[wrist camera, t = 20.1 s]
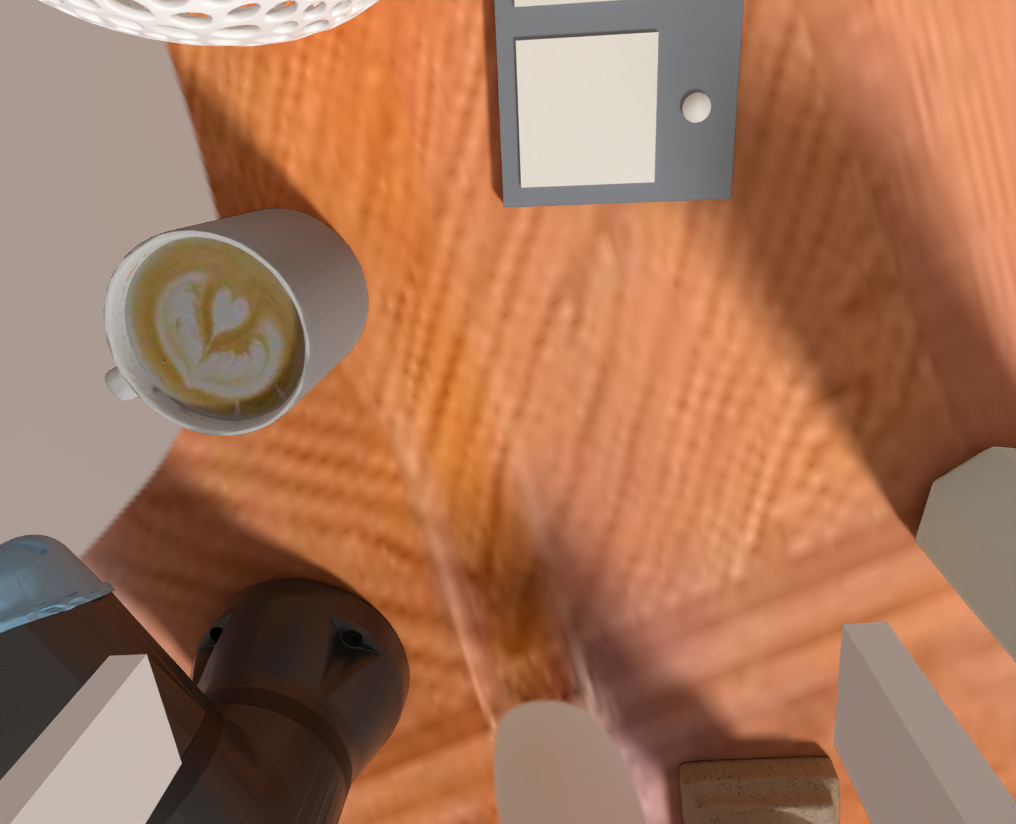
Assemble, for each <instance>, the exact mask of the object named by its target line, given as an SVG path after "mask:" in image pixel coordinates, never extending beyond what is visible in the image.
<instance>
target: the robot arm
mask: <svg viewBox="0 0 1016 824" xmlns="http://www.w3.org/2000/svg"><path fill="white" fill-rule="evenodd" d="M112 591H114V588H113V586H112V585H111V584H110V583H105V582H102V581H101V580H100V579H99V578H98V577H97V576H96V575H95V574H94V573H93V572H92V571H91V570H90V569H89V568H88V567H87V566H86V565H85V564H84V563H83V562H82V561H81V560H79V559H78V558H77V557H76V556H75V555H74V554H73V553H72V552H71V551H70V550H69V549H68V548H67V547H66V546H65V545H64V544H62V543H61V542H60V541H58V540H56V539H53V538H51V537H48V536H43V535H25V536H21V537H17V538H14V539H11V540H9V541H7V542H5V543H3V544H1V545H0V824H338V822H339V819H340V816H341V813H342V810H343V807H344V803H345V800H346V798H347V795H348V792H349V789H350V787H351V784H352V783H353V781H354V780H355V779H356V778H357V777H358V775H359V774H360V773H361V772H362V770H363V769H364V768H365V767H366V766H367V764H368V763H369V762H370V761H371V759H372V758H373V757H374V755H375V754H376V753H377V752H378V750H379V749H380V748H381V746H382V745H383V744H384V743H385V742H386V741H387V739H388V738H389V737H390V736H391V734H392V733H393V731H394V729H395V727H396V725H397V723H398V721H399V719H400V716H401V713H402V710H403V707H404V703H405V700H406V697H407V693H408V689H409V679H410V674H409V665H408V660H407V657H406V654H405V651H404V648H403V646H402V644H401V642H400V640H399V638H398V637H397V635H396V633H395V632H394V630H393V629H392V628H391V626H390V625H389V624H388V623H387V622H386V620H385V619H384V618H383V617H382V616H381V615H380V614H379V613H377V612H376V611H375V610H374V609H373V608H371V607H370V606H369V605H368V604H366V603H365V602H363V601H362V600H360V599H359V598H357V597H355V596H353V595H351V594H349V593H348V592H345V591H343V590H341V589H338V588H336V587H333V586H330V585H327V584H323V583H319V582H314V581H308V580H298V579H284V580H274V581H269V582H264V583H261V584H258V585H255V586H252V587H250V588H248V589H246V590H244V591H242V592H240V593H238V594H237V595H236V596H234V597H233V598H232V599H230V600H229V601H228V602H227V603H226V604H225V605H224V606H223V607H222V609H221V610H220V611H219V613H218V614H217V615H216V617H215V618H214V619H213V621H212V622H211V623H210V625H209V626H208V627H207V629H206V630H205V632H204V634H203V636H202V638H201V640H200V642H199V644H198V647H197V650H196V654H195V658H194V662H193V666H192V670H191V674H190V678H189V677H188V676H187V675H186V673H185V672H184V671H183V670H182V669H181V668H180V667H179V666H178V665H177V664H176V662H175V661H174V660H173V659H172V658H171V657H170V656H169V655H168V654H167V653H166V651H165V650H164V649H163V648H162V647H161V646H160V645H159V644H158V643H157V642H156V640H155V639H154V638H153V637H152V636H151V635H150V634H149V633H148V632H147V630H146V629H145V628H144V627H143V626H142V625H141V624H140V623H139V622H138V621H137V619H136V618H135V617H134V616H133V615H132V614H131V613H130V612H129V611H128V610H127V608H126V607H125V606H124V605H123V604H122V603H121V602H120V601H119V600H118V598H117V597H116V596H115V595H114V594H113V593H112ZM834 746H835V748H836V750H837V752H838V754H839V756H840V759H841V761H842V763H843V765H844V767H845V769H846V771H847V773H848V775H849V777H850V779H851V782H852V784H853V786H854V788H855V790H856V792H857V794H858V796H859V798H860V800H861V802H862V805H863V807H864V809H865V811H866V813H867V815H868V817H869V819H870V821H871V823H872V824H1016V802H1015V800H1014V799H1013V798H1012V796H1011V795H1010V793H1009V792H1008V791H1007V789H1006V788H1005V786H1004V785H1003V784H1002V782H1001V781H1000V779H999V778H998V777H997V775H996V774H995V772H994V771H993V770H992V768H991V767H990V765H989V764H988V763H987V761H986V760H985V758H984V757H983V756H982V754H981V753H980V751H979V750H978V749H977V747H976V746H975V744H974V743H973V742H972V740H971V739H970V737H969V736H968V735H967V733H966V732H965V730H964V729H963V728H962V726H961V725H960V723H959V722H958V721H957V719H956V718H955V716H954V715H953V714H952V712H951V711H950V710H949V708H948V707H947V705H946V704H945V703H944V701H943V700H942V698H941V697H940V696H939V694H938V693H937V691H936V690H935V689H934V687H933V686H932V684H931V683H930V682H929V680H928V679H927V677H926V676H925V675H924V673H923V672H922V670H921V669H920V668H919V666H918V665H917V663H916V662H915V661H914V659H913V658H912V656H911V655H910V654H909V652H908V651H907V649H906V648H905V647H904V645H903V644H902V642H901V641H900V640H899V638H898V637H897V635H896V634H895V633H894V631H893V630H892V628H891V627H890V626H889V624H888V623H887V622H880V623H857V624H843V626H842V639H841V653H840V666H839V679H838V692H837V706H836V719H835V732H834Z"/></svg>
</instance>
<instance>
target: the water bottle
mask: <svg viewBox="0 0 1016 824" xmlns="http://www.w3.org/2000/svg"><path fill="white" fill-rule="evenodd" d="M915 541H916V542H917V543H918V545H919V546H920V547H921V549H922V550H923V551H924V552H925V554H926V555H927V556H928V557H929V559H930V560H931V561H932V562H933V564H934V565H935V566H936V568H937V569H938V570H939V571H940V573H941V574H942V575H943V576H944V578H945V579H946V580H947V581H948V583H949V584H950V585H951V586H952V587H953V589H954V590H955V591H956V592H957V593H958V595H959V596H960V597H961V598H962V599H963V601H964V602H965V603H966V604H967V605H968V606H969V608H970V609H971V610H972V611H973V612H974V614H975V615H976V616H977V617H978V618H979V620H980V621H981V622H982V623H983V624H984V625H985V627H986V628H987V629H988V630H989V631H990V633H991V634H992V635H993V636H994V637H995V639H996V640H997V641H998V642H999V643H1000V644H1001V646H1002V647H1003V648H1004V649H1005V650H1006V652H1007V653H1008V654H1009V655H1010V656H1011V658H1012V659H1013V660H1014V661H1015V662H1016V448H1008V447H996V446H994V447H991V448H988V449H986V450H984V451H982V452H980V453H979V454H977V455H975V456H974V457H972V458H970V459H969V460H967V461H966V462H964V463H962V464H961V465H959V466H957V467H956V468H954V469H953V470H951V471H949V472H948V473H946V474H944V475H943V476H941V477H939V478H938V479H936V480H935V481H934V482H933V484H932V487H931V490H930V493H929V497H928V500H927V503H926V506H925V510H924V513H923V516H922V519H921V522H920V526H919V529H918V532H917V535H916V539H915Z"/></svg>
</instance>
